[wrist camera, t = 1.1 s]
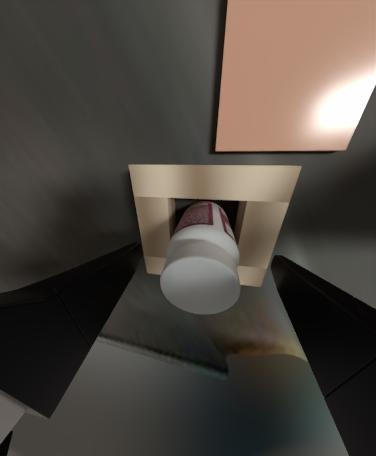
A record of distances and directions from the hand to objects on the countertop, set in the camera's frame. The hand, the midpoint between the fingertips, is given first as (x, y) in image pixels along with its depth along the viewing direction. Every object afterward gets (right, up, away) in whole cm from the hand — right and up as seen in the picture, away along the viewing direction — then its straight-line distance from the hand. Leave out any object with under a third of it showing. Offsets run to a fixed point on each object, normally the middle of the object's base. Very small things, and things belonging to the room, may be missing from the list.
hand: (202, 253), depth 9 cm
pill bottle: (+1, +2, +5) cm, 6 cm away
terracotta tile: (+6, +11, 0) cm, 13 cm away
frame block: (+1, +2, +5) cm, 5 cm away
